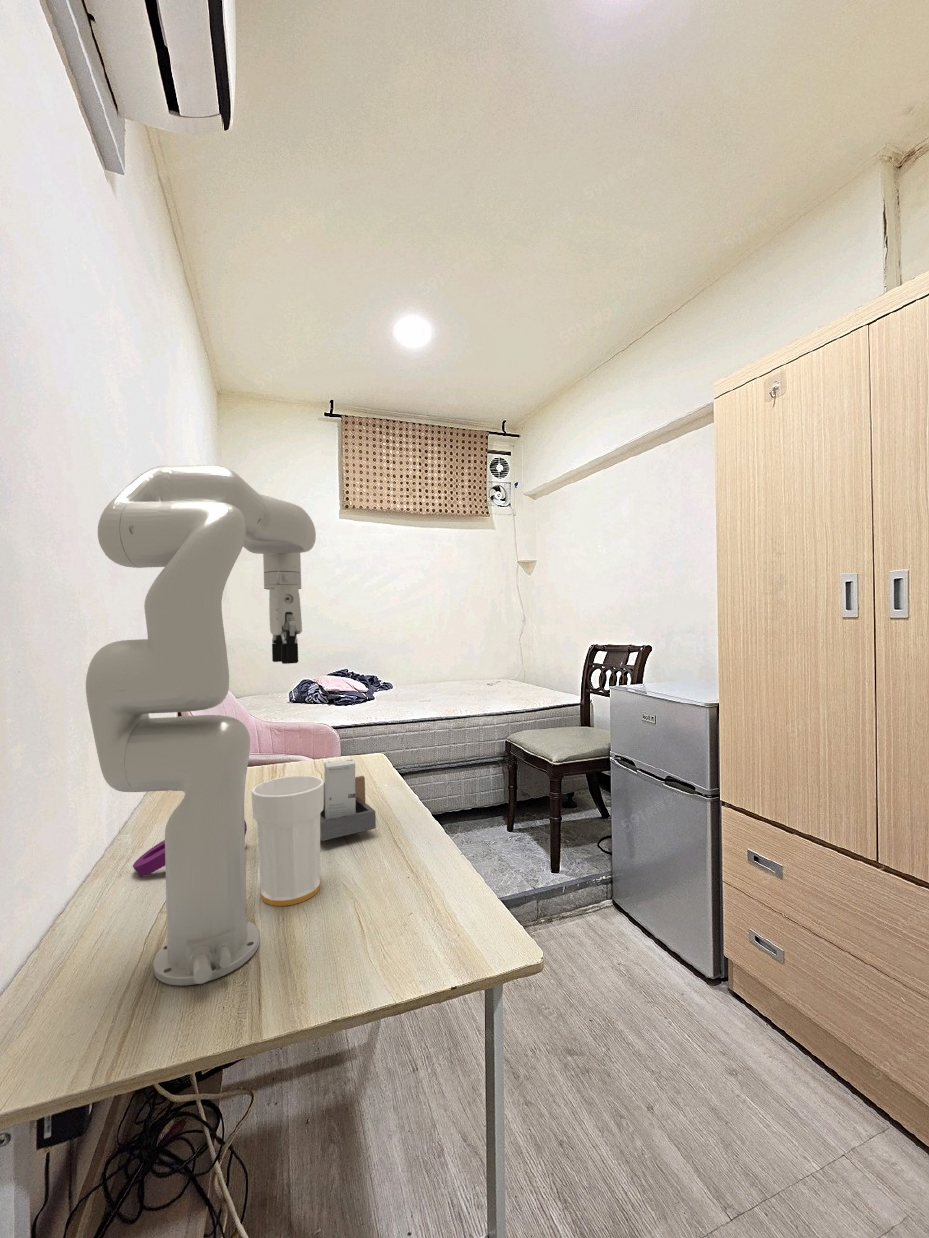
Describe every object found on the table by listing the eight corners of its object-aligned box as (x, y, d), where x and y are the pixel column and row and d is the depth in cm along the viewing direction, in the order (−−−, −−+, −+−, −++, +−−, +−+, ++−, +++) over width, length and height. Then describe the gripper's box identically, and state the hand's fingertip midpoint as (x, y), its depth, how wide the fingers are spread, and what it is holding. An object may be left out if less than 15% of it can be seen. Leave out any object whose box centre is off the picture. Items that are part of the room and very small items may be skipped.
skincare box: (326, 827, 104) (324, 766, 104) (324, 819, 108) (322, 761, 108) (357, 822, 106) (355, 763, 106) (354, 815, 110) (352, 758, 110)
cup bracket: (387, 834, 106) (386, 791, 107) (309, 854, 98) (307, 807, 98) (364, 814, 119) (362, 775, 119) (292, 830, 110) (291, 788, 111)
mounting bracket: (150, 915, 90) (249, 854, 95) (125, 875, 89) (227, 816, 94) (164, 889, 99) (254, 835, 104) (141, 852, 98) (233, 800, 103)
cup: (340, 888, 85) (337, 782, 85) (275, 918, 76) (272, 801, 77) (304, 868, 92) (302, 771, 93) (242, 893, 84) (239, 787, 84)
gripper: (310, 578, 104) (313, 663, 104) (291, 585, 119) (293, 660, 118) (271, 577, 100) (274, 665, 100) (257, 585, 115) (259, 662, 115)
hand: (284, 662), depth 109 cm, fingers open, 9 cm apart
